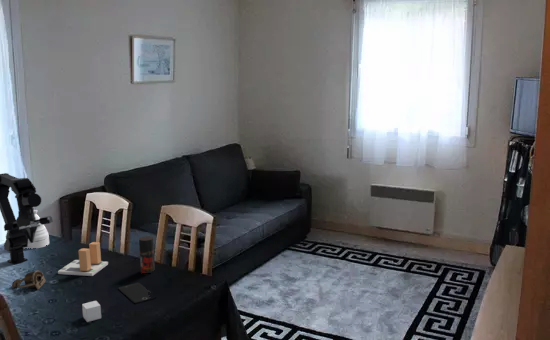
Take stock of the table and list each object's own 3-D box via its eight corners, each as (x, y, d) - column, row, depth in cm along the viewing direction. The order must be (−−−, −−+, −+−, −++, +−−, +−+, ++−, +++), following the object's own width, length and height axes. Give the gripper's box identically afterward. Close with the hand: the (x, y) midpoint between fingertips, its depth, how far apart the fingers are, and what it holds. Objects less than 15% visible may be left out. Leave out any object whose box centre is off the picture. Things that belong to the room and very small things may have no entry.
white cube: (97, 313, 196) (96, 300, 195) (101, 318, 192) (100, 305, 191) (83, 317, 193) (82, 303, 192) (87, 322, 189) (86, 309, 188)
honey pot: (54, 243, 274) (51, 208, 271) (31, 250, 264) (28, 214, 260) (39, 239, 281) (35, 205, 278) (16, 246, 270) (12, 211, 267)
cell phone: (135, 305, 203) (135, 302, 203) (117, 289, 218) (117, 287, 217) (157, 299, 208) (157, 296, 208) (138, 284, 223) (138, 282, 222)
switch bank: (58, 273, 234) (57, 270, 233) (75, 262, 247) (75, 259, 247) (92, 276, 231) (92, 273, 231) (108, 264, 244) (107, 261, 244)
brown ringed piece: (26, 282, 211) (47, 268, 219) (5, 273, 217) (26, 261, 225) (30, 297, 214) (51, 283, 222) (9, 288, 220) (30, 275, 228)
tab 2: (90, 263, 241) (89, 244, 239) (93, 261, 244) (92, 242, 242) (97, 263, 240) (96, 244, 239) (101, 261, 243) (99, 242, 242)
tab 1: (80, 270, 233) (78, 250, 231) (83, 268, 236) (82, 248, 234) (87, 271, 232) (85, 251, 230) (91, 268, 235) (89, 248, 233)
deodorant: (138, 272, 234) (135, 239, 231) (147, 268, 239) (145, 235, 236) (148, 275, 231) (146, 241, 228) (157, 270, 236) (155, 237, 234)
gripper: (-4, 213, 226) (3, 250, 227) (43, 205, 229) (49, 241, 230) (5, 210, 237) (11, 245, 238) (49, 203, 240) (55, 237, 241)
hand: (32, 242), depth 236 cm, fingers closed
